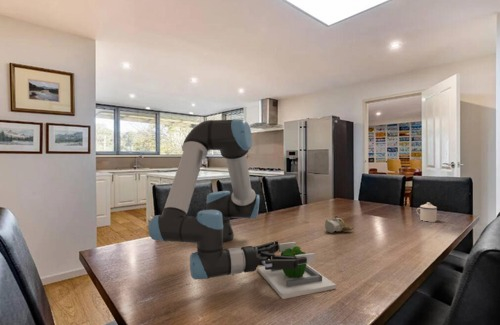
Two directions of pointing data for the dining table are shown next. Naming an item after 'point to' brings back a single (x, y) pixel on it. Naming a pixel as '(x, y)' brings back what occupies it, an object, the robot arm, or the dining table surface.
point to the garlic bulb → (336, 225)
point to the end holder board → (296, 282)
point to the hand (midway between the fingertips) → (304, 251)
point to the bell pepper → (301, 267)
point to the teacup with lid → (428, 212)
